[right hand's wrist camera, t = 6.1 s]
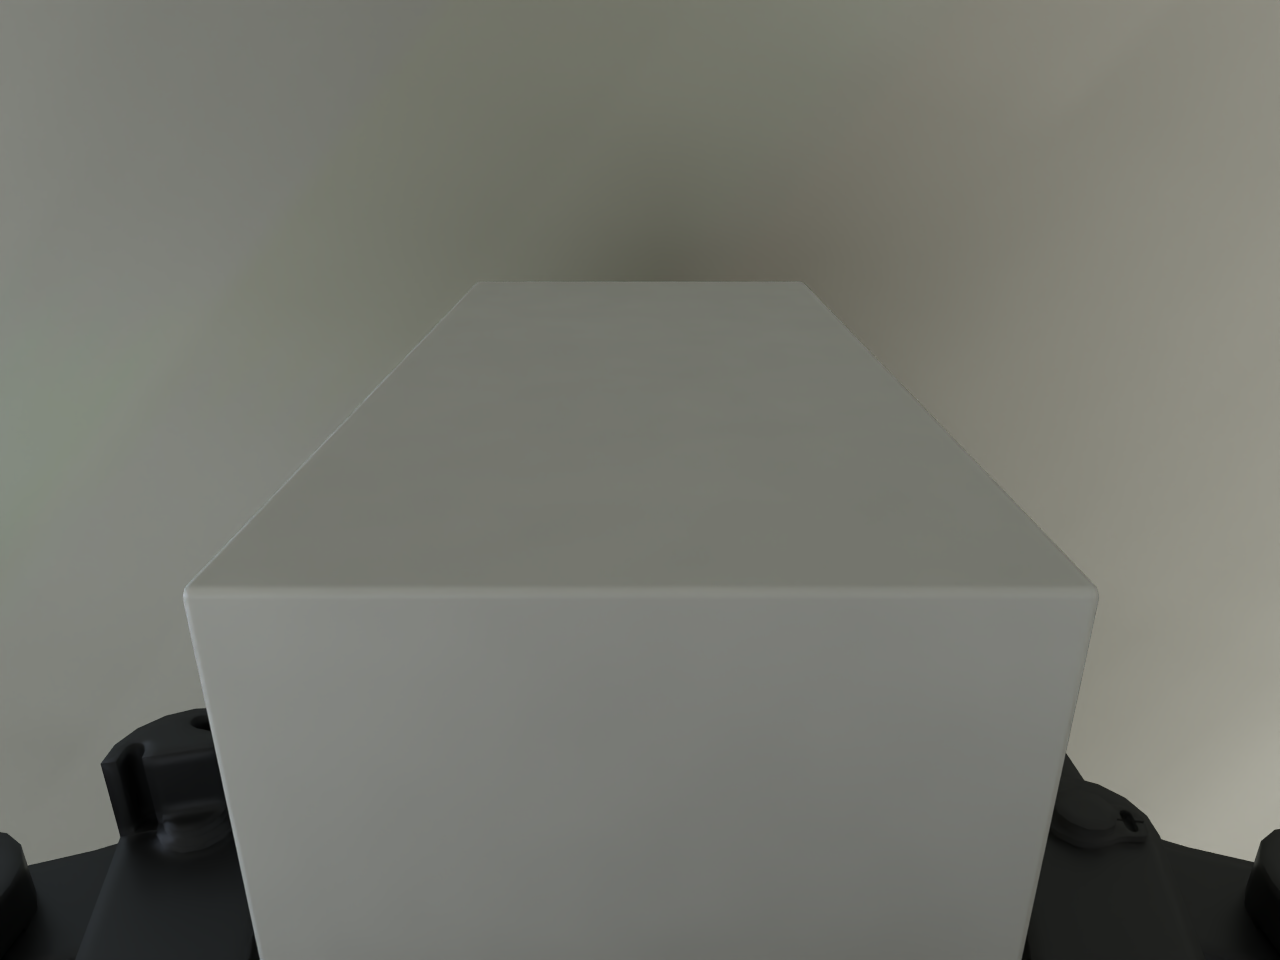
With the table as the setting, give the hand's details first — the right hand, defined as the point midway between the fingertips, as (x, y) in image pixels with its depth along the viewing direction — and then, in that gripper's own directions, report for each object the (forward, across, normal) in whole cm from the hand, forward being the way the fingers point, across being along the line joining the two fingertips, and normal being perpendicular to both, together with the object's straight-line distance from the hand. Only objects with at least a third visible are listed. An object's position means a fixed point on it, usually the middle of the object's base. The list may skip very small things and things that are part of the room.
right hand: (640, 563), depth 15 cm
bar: (+1, 0, -8) cm, 8 cm away
